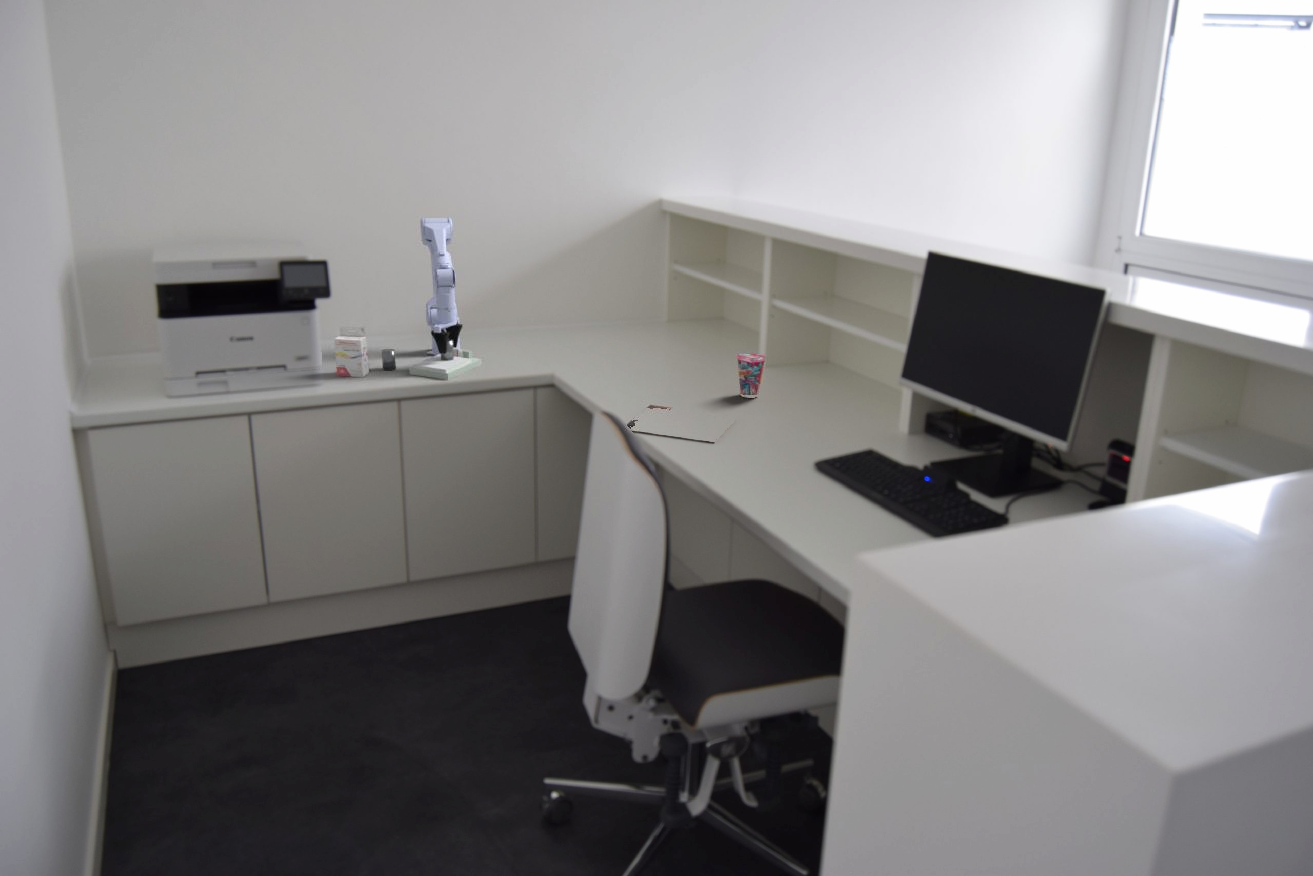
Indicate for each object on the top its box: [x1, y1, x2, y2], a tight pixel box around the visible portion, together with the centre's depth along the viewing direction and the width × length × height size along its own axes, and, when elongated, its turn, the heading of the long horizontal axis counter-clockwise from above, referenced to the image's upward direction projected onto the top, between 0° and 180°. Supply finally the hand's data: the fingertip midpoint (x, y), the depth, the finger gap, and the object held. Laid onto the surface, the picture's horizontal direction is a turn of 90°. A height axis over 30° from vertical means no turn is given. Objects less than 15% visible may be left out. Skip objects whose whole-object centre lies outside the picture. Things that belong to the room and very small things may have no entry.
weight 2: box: [441, 339, 454, 361], centre depth 313 cm, size 4×4×6 cm
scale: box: [408, 348, 482, 381], centre depth 313 cm, size 19×14×5 cm
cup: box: [736, 352, 767, 395], centre depth 292 cm, size 9×8×12 cm
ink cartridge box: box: [334, 325, 370, 378], centre depth 304 cm, size 9×5×15 cm, turn 84°
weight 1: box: [381, 348, 397, 372], centre depth 312 cm, size 4×4×6 cm
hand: (448, 350), depth 313 cm, fingers open, 7 cm apart
